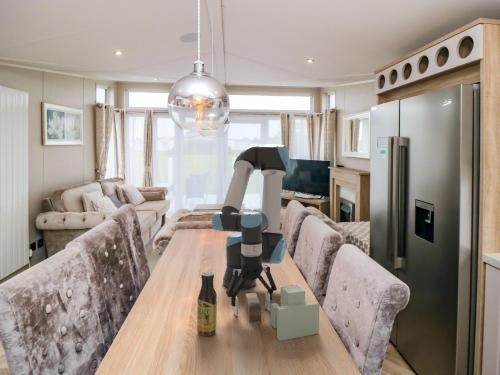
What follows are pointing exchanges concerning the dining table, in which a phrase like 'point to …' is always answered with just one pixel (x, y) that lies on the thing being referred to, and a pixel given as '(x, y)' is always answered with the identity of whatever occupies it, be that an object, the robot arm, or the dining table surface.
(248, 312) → the brown boxy piece
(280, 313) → the pale green block
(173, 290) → the dining table surface
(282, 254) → the robot arm
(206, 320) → the sauce bottle
